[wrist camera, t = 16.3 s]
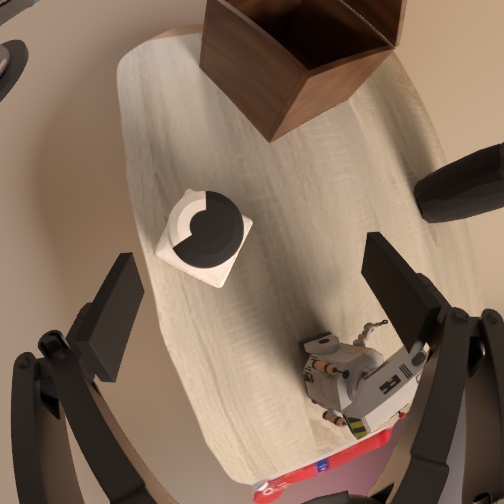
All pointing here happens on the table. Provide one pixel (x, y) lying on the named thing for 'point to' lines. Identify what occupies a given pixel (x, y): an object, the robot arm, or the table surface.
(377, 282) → the robot arm
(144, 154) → the table surface
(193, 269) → the medicine bottle
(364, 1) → the chest lid
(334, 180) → the table surface
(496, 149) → the portable speaker
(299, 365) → the table surface
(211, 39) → the chest
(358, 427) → the figurine
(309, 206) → the table surface
